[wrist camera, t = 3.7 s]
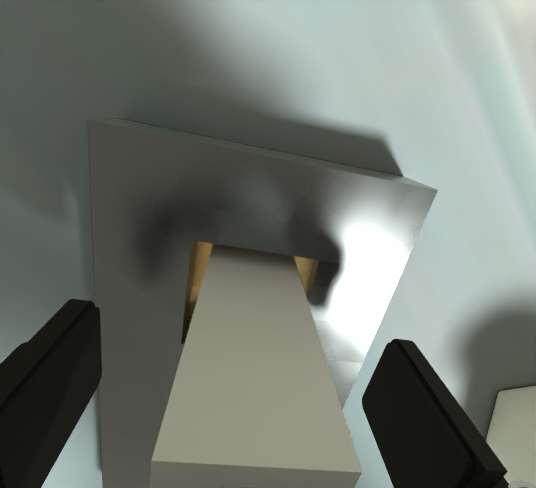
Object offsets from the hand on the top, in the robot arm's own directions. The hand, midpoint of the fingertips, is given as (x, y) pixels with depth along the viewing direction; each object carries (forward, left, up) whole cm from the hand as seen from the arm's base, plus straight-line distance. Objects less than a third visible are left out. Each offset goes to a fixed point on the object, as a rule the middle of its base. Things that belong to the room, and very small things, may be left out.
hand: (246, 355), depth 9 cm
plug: (0, 0, -5) cm, 5 cm away
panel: (0, +6, -5) cm, 8 cm away
